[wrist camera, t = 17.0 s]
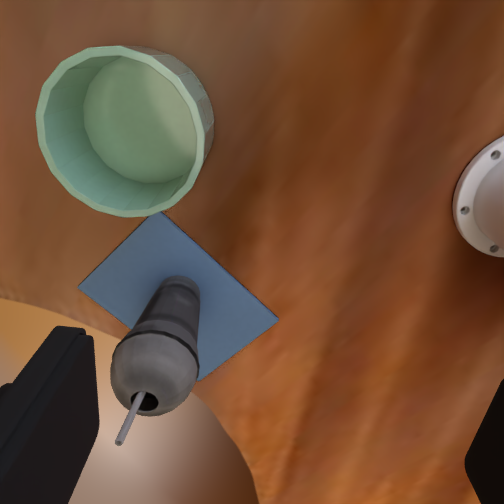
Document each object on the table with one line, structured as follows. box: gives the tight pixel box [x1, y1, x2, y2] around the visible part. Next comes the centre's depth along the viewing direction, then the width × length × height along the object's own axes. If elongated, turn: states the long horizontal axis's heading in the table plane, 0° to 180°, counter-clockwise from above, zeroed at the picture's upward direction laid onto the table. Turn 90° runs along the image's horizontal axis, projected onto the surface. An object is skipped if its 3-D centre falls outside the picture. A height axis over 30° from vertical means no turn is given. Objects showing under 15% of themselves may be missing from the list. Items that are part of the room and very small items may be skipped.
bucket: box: [35, 46, 214, 218], centre depth 34 cm, size 12×12×8 cm
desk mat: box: [77, 212, 279, 381], centre depth 46 cm, size 18×13×1 cm
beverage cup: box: [111, 275, 201, 446], centre depth 36 cm, size 7×7×20 cm
